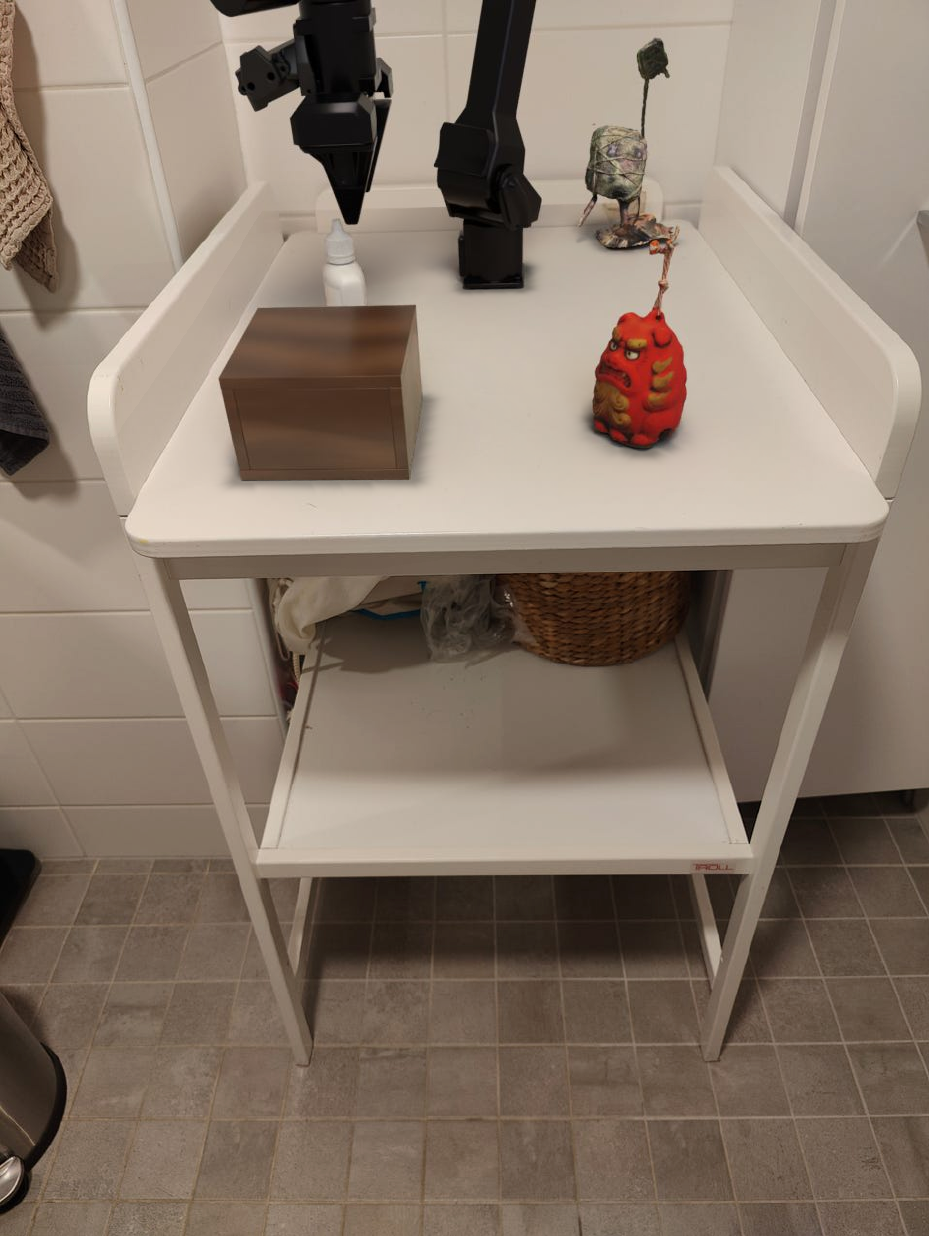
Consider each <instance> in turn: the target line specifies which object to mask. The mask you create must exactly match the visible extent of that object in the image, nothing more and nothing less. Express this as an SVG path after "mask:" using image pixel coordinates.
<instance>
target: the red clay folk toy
mask: <svg viewBox="0 0 929 1236" xmlns="http://www.w3.org/2000/svg"><path fill="white" fill-rule="evenodd" d="M680 230H681V229H680V226H679V225H678V224H677V225H676V227H675V230H674V231H675V232H674V233H673V237H672V238H671V239H669V238H668V239H667V240H666V242H665V246H664V247H662V246H661V245H660V242H659V241H658V239H655V240H652V241H650V243H649V246H650V247H649V253H648V254H649V256H654V255H657V254H660V255H663V263H662V273H661V279H659V280H658V282H657V285H658V287H659V290H658V293H657V297H656V299H655V301H654V304H653V306H652V309H651V311H649V312H648V313H647V314H646V315H645V316H644V317H643V316H640V315H639V314H637V313H636V312H633V311H630V312H629V311H628V312H626V313H624V314H622V315H621V316H620V317H618V321H617V322H616V326H615V327H613V329H612V332H611V338H610V340H608V343H607V345H606V347H605V349H604V350H603V352H602V353H601V355H600V358H599V362H598V364H597V365H596V366H595V370H594V376H595V384H594V386H593V387H594V388H593V398H592V401H591V403H592V405H591V406H592V411H593V420H594V429H595V430H596V431H598V432H601V433H603V434H609V436H610V438H611V439H612V440H613V441H615V442H617V443H619V444H621V445H624V446H628V447H632V448H637V449H649V448H652V446H653V445H654V444H655V443H657V442H658V441H664V440H665V439H667V438H669V437H670V436H671V435H672V434H673V433H674V432H675V430H676V429H677V428H678V427H679V425H680V423H681V419H682V416H683V412H684V407H685V402H686V400H687V395H688V392H687V391H688V390H687V386H686V384H687V381H688V371H687V367H686V366H685V363H684V360H685V353H684V347H683V345H682V343H681V342H680V341H679V339H678V337H677V334H676V333H675V331H673V330H672V329H671V328H670V326H669V325H668V323H667V322H666V316H665V313H664V312H663V311H662V304H663V295H664V293H666V291H667V290H668V289H669V281H668V279H667V276H668V272H669V269H670V264H671V260H672V257H673V254H674V250H675V247H677V246H678V245H679V242H678V241H676V240H677V238H678V236H679V233H680ZM675 241H676V242H675Z"/></svg>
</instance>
